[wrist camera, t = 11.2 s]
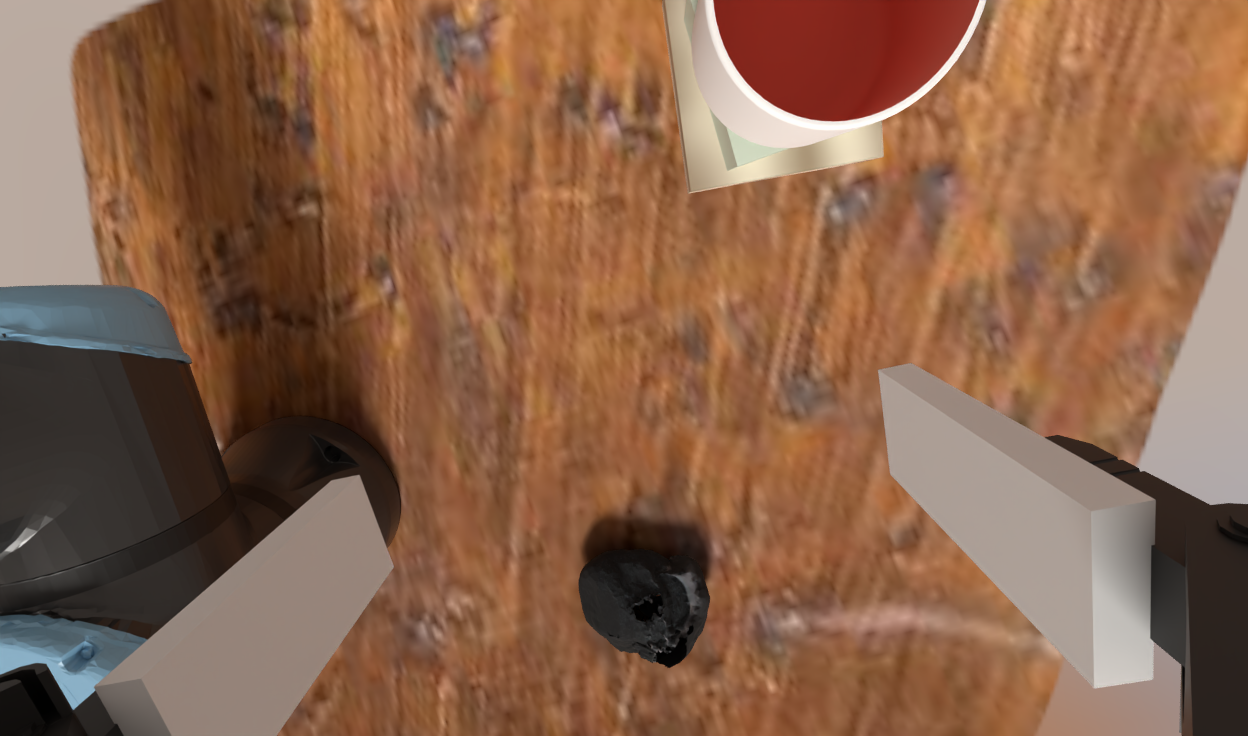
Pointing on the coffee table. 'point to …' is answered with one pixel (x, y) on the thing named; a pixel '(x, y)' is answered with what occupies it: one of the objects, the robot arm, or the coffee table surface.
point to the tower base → (701, 136)
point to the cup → (822, 62)
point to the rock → (645, 602)
